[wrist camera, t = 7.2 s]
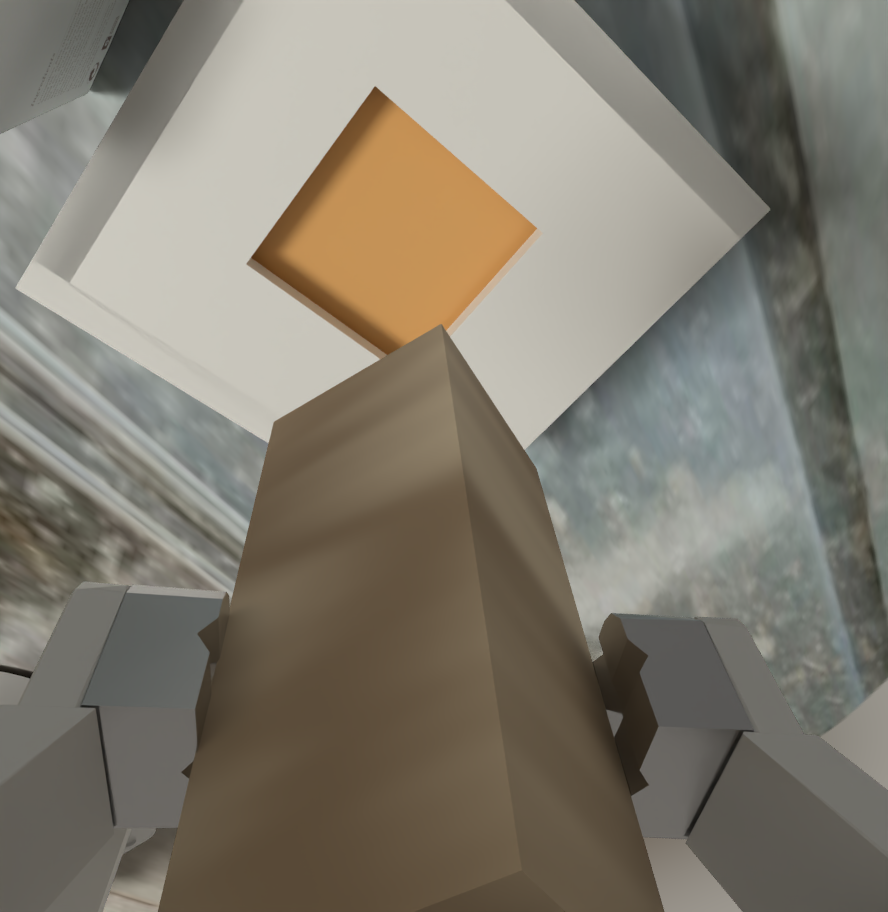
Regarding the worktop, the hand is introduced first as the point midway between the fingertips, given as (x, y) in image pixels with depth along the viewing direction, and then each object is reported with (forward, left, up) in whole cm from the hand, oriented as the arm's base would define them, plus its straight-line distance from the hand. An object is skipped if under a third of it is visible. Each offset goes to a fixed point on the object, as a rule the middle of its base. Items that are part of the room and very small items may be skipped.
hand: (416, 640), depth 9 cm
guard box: (0, 0, -21) cm, 21 cm away
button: (0, 0, -18) cm, 18 cm away
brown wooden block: (0, 0, -4) cm, 4 cm away
